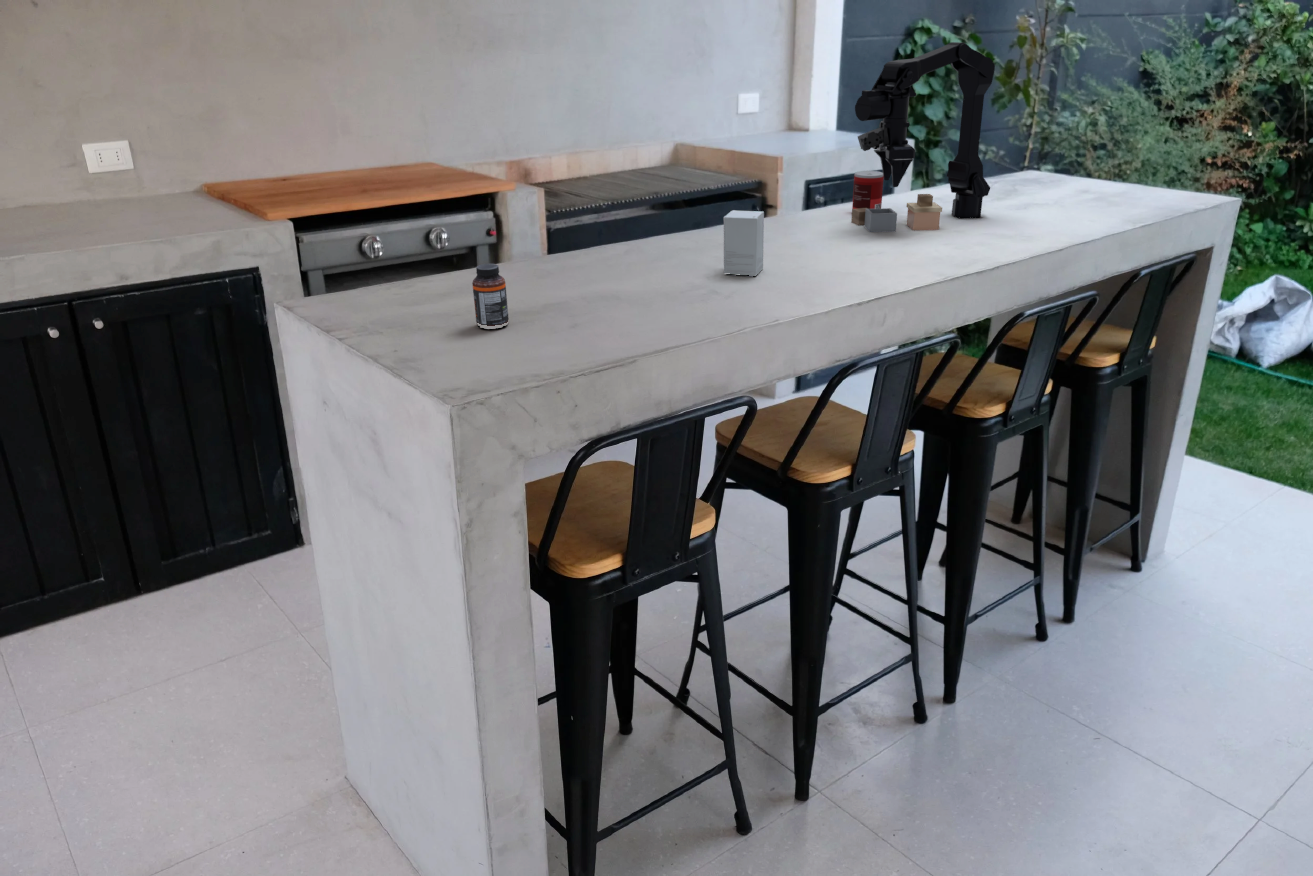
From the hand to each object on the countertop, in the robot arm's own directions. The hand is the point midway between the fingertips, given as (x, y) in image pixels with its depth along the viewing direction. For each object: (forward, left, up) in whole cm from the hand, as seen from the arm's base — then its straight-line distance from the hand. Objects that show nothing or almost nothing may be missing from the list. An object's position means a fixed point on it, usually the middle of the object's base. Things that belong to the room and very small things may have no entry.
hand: (890, 183), depth 243 cm
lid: (-9, -1, -7) cm, 11 cm away
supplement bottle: (+90, +70, -12) cm, 115 cm away
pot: (-9, -1, -12) cm, 15 cm away
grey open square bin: (+2, 0, -12) cm, 12 cm away
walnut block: (+5, -7, -12) cm, 14 cm away
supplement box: (+40, +36, -12) cm, 55 cm away
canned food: (+1, -20, -12) cm, 23 cm away
